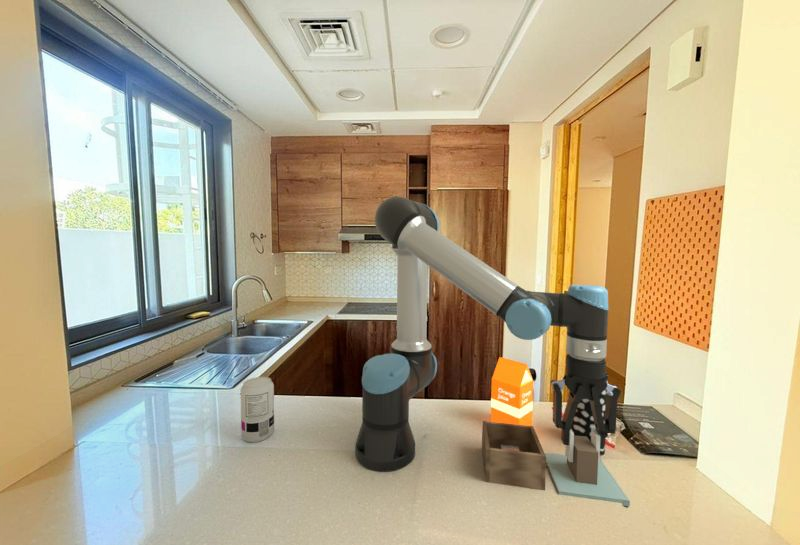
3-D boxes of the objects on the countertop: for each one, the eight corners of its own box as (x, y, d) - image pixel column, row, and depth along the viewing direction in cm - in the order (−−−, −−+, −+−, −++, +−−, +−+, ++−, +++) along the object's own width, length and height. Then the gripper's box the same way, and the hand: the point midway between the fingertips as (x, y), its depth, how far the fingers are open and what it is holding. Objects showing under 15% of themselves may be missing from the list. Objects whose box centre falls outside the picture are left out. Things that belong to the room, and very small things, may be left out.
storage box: (485, 485, 67) (486, 449, 67) (481, 451, 79) (482, 420, 79) (544, 493, 65) (546, 456, 65) (532, 457, 77) (533, 426, 76)
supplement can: (234, 439, 83) (233, 384, 83) (259, 424, 91) (258, 374, 90) (257, 446, 80) (256, 389, 80) (280, 430, 88) (280, 378, 87)
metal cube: (502, 472, 70) (502, 454, 70) (500, 460, 74) (500, 444, 74) (521, 474, 70) (521, 457, 70) (517, 462, 74) (518, 446, 73)
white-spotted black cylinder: (610, 458, 77) (614, 378, 76) (574, 453, 79) (577, 376, 78) (596, 439, 85) (599, 367, 84) (563, 435, 87) (566, 364, 86)
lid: (558, 496, 64) (560, 458, 64) (542, 457, 77) (543, 424, 76) (629, 506, 62) (631, 466, 61) (600, 463, 74) (601, 430, 74)
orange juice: (518, 440, 84) (520, 367, 83) (490, 426, 91) (491, 359, 90) (532, 430, 89) (534, 361, 88) (504, 417, 96) (505, 354, 95)
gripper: (547, 358, 66) (543, 465, 67) (640, 364, 63) (635, 477, 64) (538, 348, 73) (535, 445, 74) (621, 353, 70) (617, 454, 71)
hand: (581, 459), depth 69 cm, fingers open, 4 cm apart
